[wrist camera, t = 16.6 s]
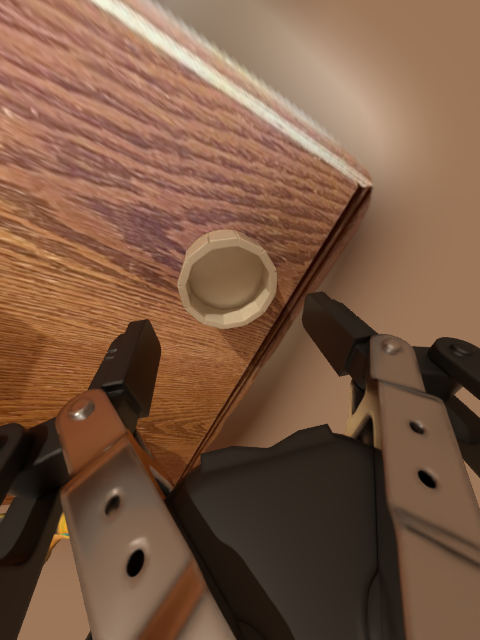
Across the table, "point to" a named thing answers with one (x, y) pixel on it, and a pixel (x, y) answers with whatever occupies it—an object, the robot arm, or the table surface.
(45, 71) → the table surface
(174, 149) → the table surface
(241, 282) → the cream dish
